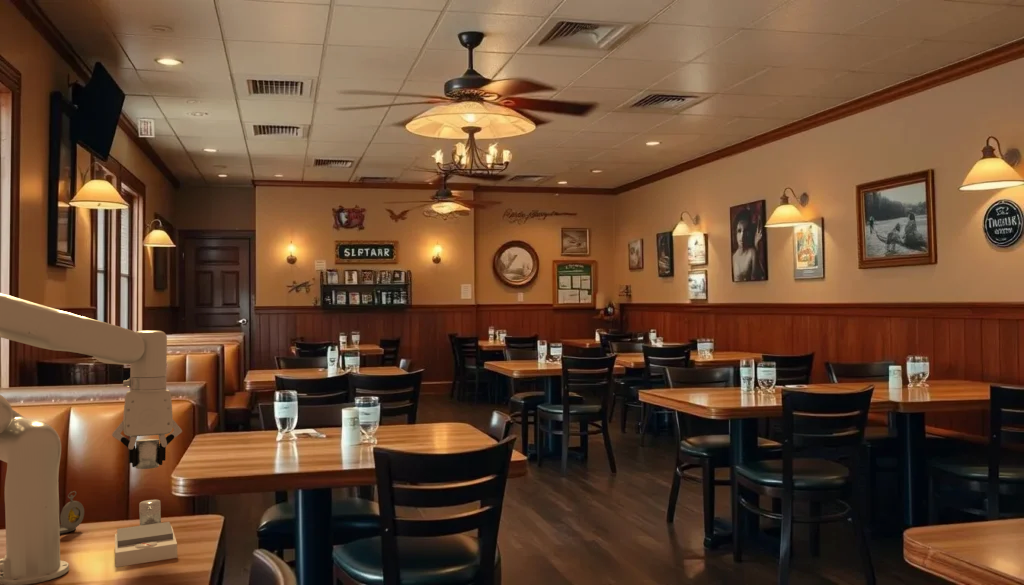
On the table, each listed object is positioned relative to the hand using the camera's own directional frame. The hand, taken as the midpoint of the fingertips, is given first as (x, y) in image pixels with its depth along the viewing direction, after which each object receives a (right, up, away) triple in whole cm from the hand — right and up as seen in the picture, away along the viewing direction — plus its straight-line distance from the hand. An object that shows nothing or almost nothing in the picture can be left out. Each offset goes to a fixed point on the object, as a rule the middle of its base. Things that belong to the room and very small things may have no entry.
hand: (147, 464), depth 184 cm
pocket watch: (-27, -20, +14) cm, 36 cm away
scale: (+1, -19, -4) cm, 19 cm away
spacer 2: (-7, -19, +17) cm, 27 cm away
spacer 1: (0, -1, 0) cm, 1 cm away
